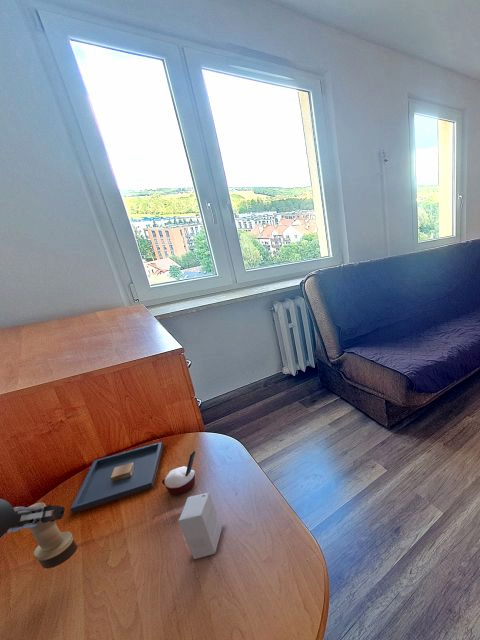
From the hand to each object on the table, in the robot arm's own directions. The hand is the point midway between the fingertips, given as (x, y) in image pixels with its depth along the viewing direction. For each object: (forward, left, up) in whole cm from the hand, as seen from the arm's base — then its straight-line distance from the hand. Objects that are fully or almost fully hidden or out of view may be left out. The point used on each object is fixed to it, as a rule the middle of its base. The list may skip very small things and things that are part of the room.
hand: (49, 515), depth 66 cm
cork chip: (+4, +24, -13) cm, 27 cm away
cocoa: (+19, +10, -14) cm, 25 cm away
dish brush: (-1, -2, -9) cm, 9 cm away
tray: (+4, +23, -13) cm, 27 cm away
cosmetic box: (+25, -10, -14) cm, 30 cm away
